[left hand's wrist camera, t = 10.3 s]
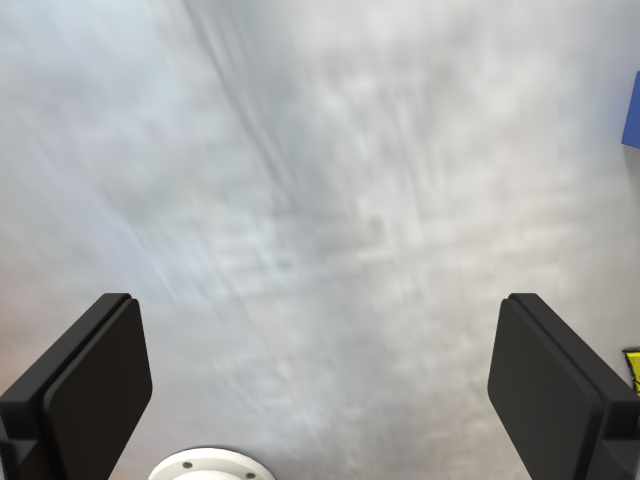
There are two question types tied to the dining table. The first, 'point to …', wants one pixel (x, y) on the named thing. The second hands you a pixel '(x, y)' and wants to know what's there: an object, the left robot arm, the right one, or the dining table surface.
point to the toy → (634, 367)
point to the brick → (633, 118)
